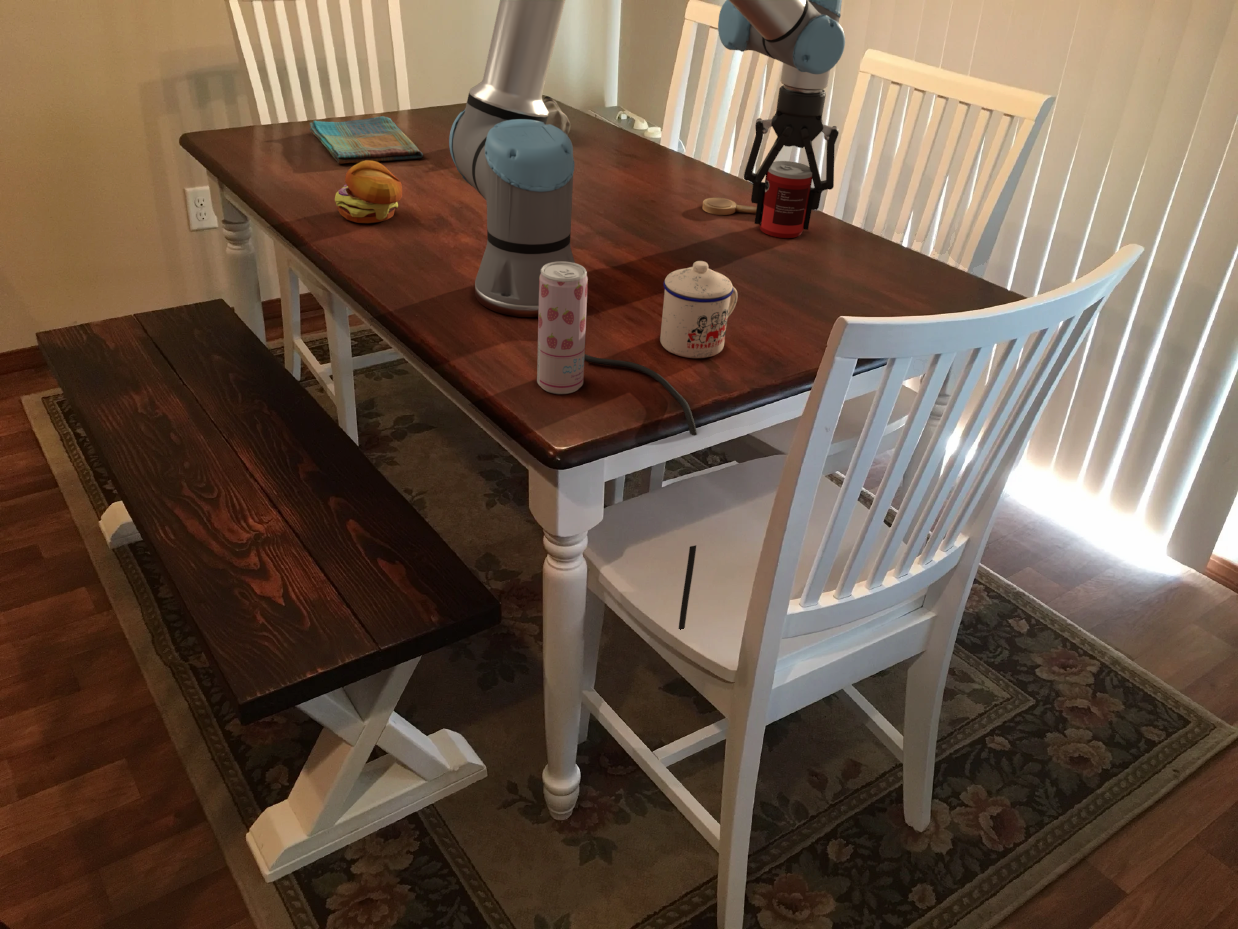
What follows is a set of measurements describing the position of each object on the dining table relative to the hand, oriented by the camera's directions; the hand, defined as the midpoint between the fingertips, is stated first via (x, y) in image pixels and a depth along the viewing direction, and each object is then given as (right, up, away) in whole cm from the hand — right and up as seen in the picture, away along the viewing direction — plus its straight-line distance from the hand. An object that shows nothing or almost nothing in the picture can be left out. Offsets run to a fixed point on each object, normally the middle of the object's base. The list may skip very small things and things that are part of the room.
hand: (781, 223), depth 172 cm
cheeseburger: (-70, 0, -5) cm, 70 cm away
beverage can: (-35, -32, -49) cm, 69 cm away
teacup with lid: (-17, -25, -37) cm, 48 cm away
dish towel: (-79, +22, +27) cm, 86 cm away
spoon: (-5, +4, +7) cm, 10 cm away
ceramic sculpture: (-44, +28, +40) cm, 66 cm away
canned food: (0, -1, +1) cm, 1 cm away
